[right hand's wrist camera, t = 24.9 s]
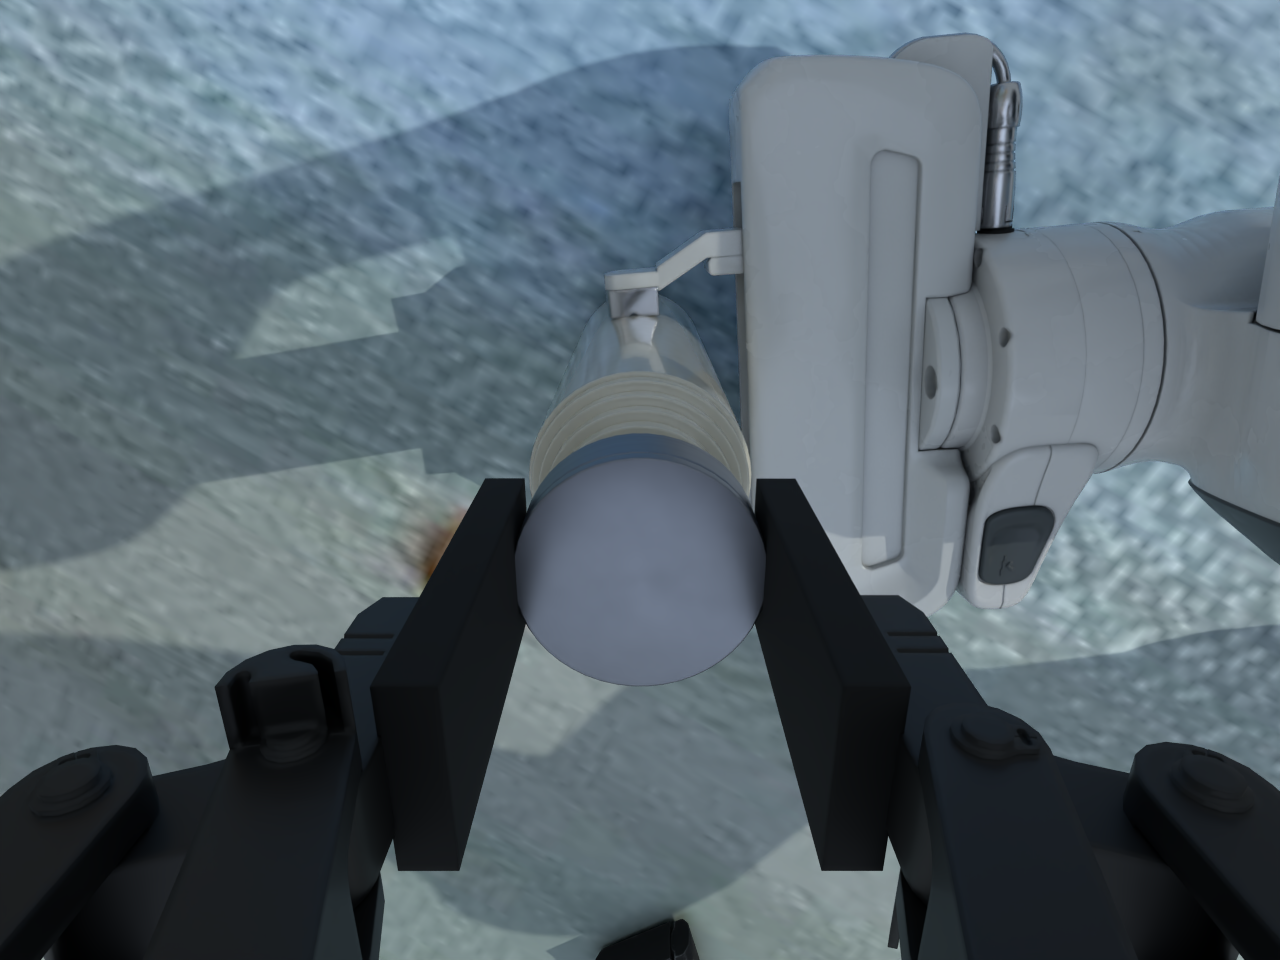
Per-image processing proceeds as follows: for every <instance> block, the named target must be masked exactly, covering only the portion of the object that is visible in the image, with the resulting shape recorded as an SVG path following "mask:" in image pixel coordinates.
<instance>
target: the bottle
mask: <svg viewBox="0 0 1280 960" xmlns="http://www.w3.org/2000/svg"><path fill="white" fill-rule="evenodd" d="M658 302H659V315H654V316H638V315H636V314H635V313H632V314H631V315H630V316H629V317H624V318H619V319H611V318H609V316H608V308H607V302H605V303H604V304H603V305H601V306H600V307H599V308H598V309H597V310H596V311H595V312H594V313H593V315H592V316H591V317H590V319H589V320H588V322H587V324H586V326H585V328H584V330H583V333H582V335H581V337H580V339H579V342H578V344H577V346H576V348H575V351H574V353H573V355H572V358H571V360H570V362H569V364H568V367H567V369H566V371H565V374H564V376H563V378H562V380H561V383H560V385H559V387H558V390H557V392H556V394H555V396H554V399H553V401H552V403H551V405H550V408H549V410H548V412H547V415H546V417H545V419H544V421H543V424H542V426H541V428H540V431H539V433H538V435H537V438H536V441H535V443H534V446H533V450H532V454H531V458H530V468H529V482H530V491H531V496H532V498H533V496H534V494H535V492H536V491H537V489H538V487H539V485H540V484H541V483H542V481H543V480H544V479H545V477H546V476H547V475H548V473H549V472H550V471H551V470H552V469H553V468H554V467H555V466H556V465H558V464H559V463H560V462H561V461H562V460H563V459H565V458H566V457H567V456H569V455H570V454H572V453H573V452H575V451H577V450H578V449H580V448H582V447H584V446H586V445H588V444H591V443H593V442H596V441H598V440H601V439H604V438H608V437H612V436H616V435H624V434H632V433H649V434H657V435H665V436H669V437H672V438H676V439H680V440H683V441H685V442H688V443H690V444H693V445H695V446H697V447H699V448H700V449H702V450H704V451H706V452H708V453H709V454H711V455H712V456H713V457H715V458H716V459H717V460H719V461H720V462H721V463H722V464H723V465H724V466H725V467H726V468H727V469H728V470H729V471H730V472H731V473H732V474H733V475H734V476H735V478H736V479H737V480H738V482H739V483H740V484H741V486H742V488H743V489H744V491H745V493H746V495H747V496H748V498H749V493H750V489H751V461H750V456H749V452H748V447H747V444H746V442H745V439H744V436H743V434H742V431H741V429H740V427H739V425H738V422H737V420H736V418H735V416H734V413H733V411H732V409H731V407H730V404H729V402H728V400H727V397H726V395H725V393H724V391H723V388H722V386H721V384H720V382H719V379H718V377H717V375H716V372H715V370H714V368H713V366H712V363H711V361H710V359H709V357H708V354H707V352H706V350H705V348H704V345H703V343H702V341H701V338H700V336H699V334H698V332H697V329H696V327H695V325H694V323H693V322H692V320H691V318H690V317H689V316H688V314H687V313H686V312H685V311H684V310H683V309H682V308H681V307H680V306H679V305H678V304H676V303H675V302H674V301H672V300H670V299H669V298H666V297H664V296H662V295H659V294H658Z"/></svg>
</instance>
